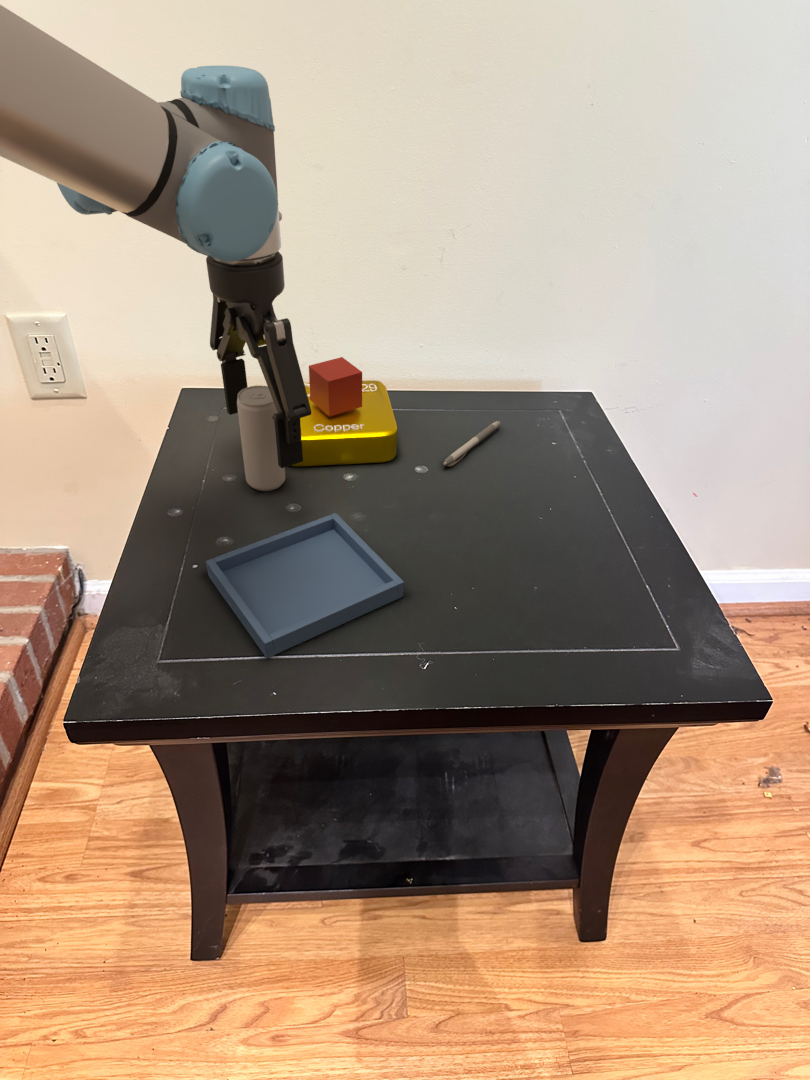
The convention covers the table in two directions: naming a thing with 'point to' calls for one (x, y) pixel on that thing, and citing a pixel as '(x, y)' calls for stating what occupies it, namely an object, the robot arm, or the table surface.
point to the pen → (470, 444)
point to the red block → (335, 386)
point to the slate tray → (303, 583)
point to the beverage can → (259, 438)
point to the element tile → (350, 431)
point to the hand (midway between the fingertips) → (263, 436)
